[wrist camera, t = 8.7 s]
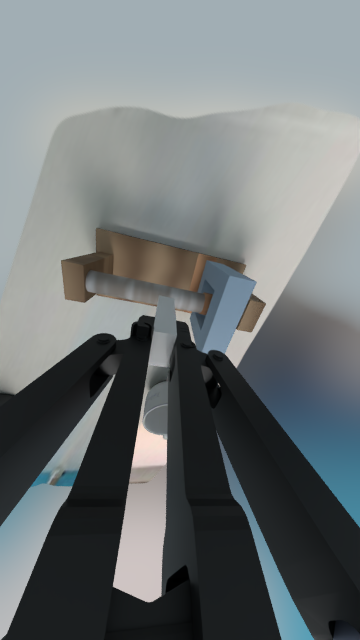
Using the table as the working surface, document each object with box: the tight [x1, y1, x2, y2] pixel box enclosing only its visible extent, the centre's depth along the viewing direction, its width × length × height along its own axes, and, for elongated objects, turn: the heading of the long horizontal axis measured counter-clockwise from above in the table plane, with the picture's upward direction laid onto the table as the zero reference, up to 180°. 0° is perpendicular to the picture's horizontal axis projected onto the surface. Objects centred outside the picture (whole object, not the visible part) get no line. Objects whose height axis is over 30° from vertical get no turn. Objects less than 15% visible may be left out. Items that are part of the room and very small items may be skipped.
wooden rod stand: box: [61, 228, 266, 332], centre depth 22 cm, size 23×10×10 cm, turn 77°
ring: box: [190, 260, 256, 354], centre depth 20 cm, size 2×9×10 cm, turn 167°
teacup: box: [142, 381, 168, 439], centre depth 37 cm, size 14×11×8 cm
